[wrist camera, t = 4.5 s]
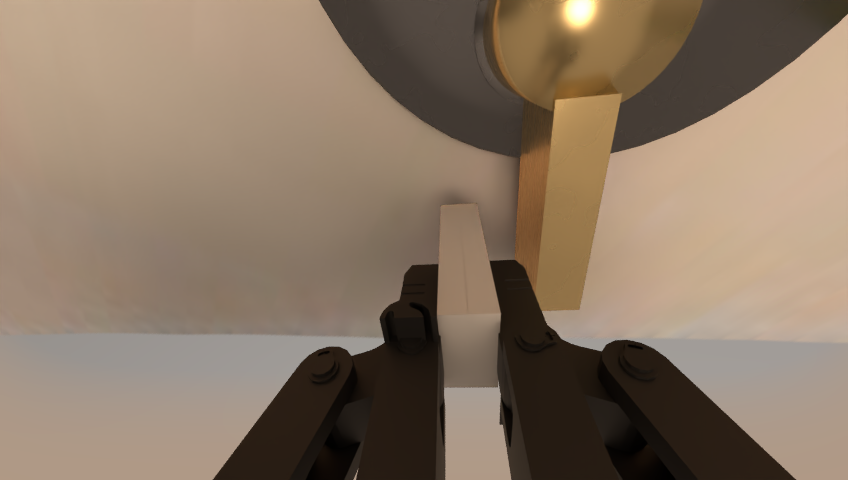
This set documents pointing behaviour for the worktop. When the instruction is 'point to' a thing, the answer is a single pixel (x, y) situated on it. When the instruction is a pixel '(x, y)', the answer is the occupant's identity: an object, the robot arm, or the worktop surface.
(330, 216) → the worktop surface
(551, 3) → the knob
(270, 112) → the worktop surface
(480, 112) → the levelling base
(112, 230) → the worktop surface
